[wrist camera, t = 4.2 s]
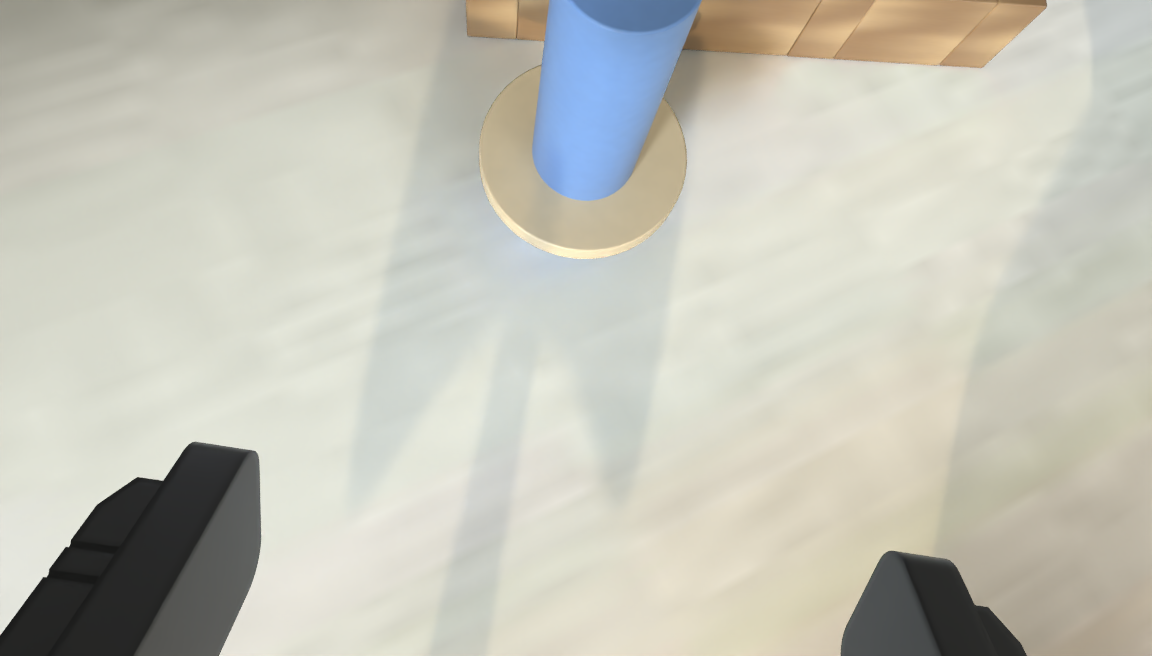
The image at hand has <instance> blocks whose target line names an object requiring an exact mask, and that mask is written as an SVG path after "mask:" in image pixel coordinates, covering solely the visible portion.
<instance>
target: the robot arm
mask: <svg viewBox="0 0 1152 656" xmlns="http://www.w3.org/2000/svg"><path fill="white" fill-rule="evenodd" d="M260 546H261V515H260V470H259V458H258V454H257V453H256V451H252V450H245V449H239V448H232V447H226V446H219V445H213V444H206V443H200V442H192V443H191V444H189V445H188V446H187V447H186V448H185V450H184V451H183V452H182V454H181V455H180V457H179V458H178V460H177V461H176V463H175V464H174V466H173V467H172V469H171V470H170V472H169V473H168V475H167V476H166V478H165V479H164V481H159V480H153V479H146V478H139V477H137V478H135V479H134V480H132V481H131V482H130V483H128V484H127V485H125V486H124V487H122V488H121V489H119V490H118V491H116V492H115V493H114V494H112V495H111V496H109V497H108V498H106V499H105V500H103V501H102V502H100V503H99V504H97V506H96V507H95V508H94V510H93V511H92V512H91V514H90V515H89V516H88V518H87V519H86V520H85V522H84V523H83V525H82V526H81V527H80V529H79V530H78V531H77V533H76V534H75V535H74V537H73V538H72V539H71V544H70V546H69V547H65V549H64V550H63V552H62V553H61V554H60V556H59V557H58V558H57V560H56V561H55V562H54V564H53V565H52V566H51V568H50V569H49V574H48V576H47V578H46V577H43V579H42V580H41V581H40V583H39V584H38V585H37V587H36V588H35V589H34V591H33V592H32V593H31V595H30V596H29V597H28V599H27V600H26V601H25V603H24V604H23V606H22V607H21V608H20V610H19V611H18V612H17V614H16V615H15V616H14V618H13V619H12V620H11V622H10V623H9V624H8V626H7V627H6V628H5V630H4V631H3V633H2V634H1V635H0V656H219V654H220V652H221V650H222V648H223V645H224V643H225V641H226V639H227V637H228V635H229V632H230V630H231V628H232V626H233V624H234V622H235V620H236V617H237V615H238V613H239V611H240V609H241V607H242V604H243V602H244V600H245V598H246V596H247V594H248V591H249V589H250V587H251V584H252V581H253V578H254V575H255V571H256V568H257V564H258V559H259V553H260ZM841 656H1027V655H1026V653H1025V651H1024V649H1023V647H1022V645H1021V643H1020V642H1019V641H1018V640H1017V639H1016V638H1015V637H1014V636H1013V634H1012V633H1011V632H1010V631H1009V630H1008V629H1007V628H1006V627H1005V626H1004V624H1003V623H1002V622H1001V621H1000V620H999V619H998V618H997V617H996V616H995V614H994V613H993V612H992V611H991V610H990V609H989V608H988V607H983V606H976V605H974V603H973V601H972V599H971V597H970V594H969V592H968V590H967V588H966V586H965V584H964V582H963V579H962V577H961V575H960V573H959V571H958V569H957V567H956V566H955V565H954V564H953V563H952V562H951V561H950V560H947V559H942V558H936V557H929V556H923V555H916V554H910V553H903V552H897V551H888V552H886V553H885V554H884V555H883V556H882V557H881V559H880V560H879V562H878V564H877V566H876V568H875V570H874V572H873V574H872V576H871V578H870V580H869V582H868V584H867V586H866V588H865V590H864V592H863V594H862V596H861V598H860V600H859V602H858V604H857V606H856V608H855V610H854V612H853V614H852V616H851V618H850V620H849V622H848V624H847V626H846V628H845V631H844V634H843V639H842V645H841Z"/></svg>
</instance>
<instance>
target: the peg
mask: <svg viewBox="0 0 1152 656" xmlns="http://www.w3.org/2000/svg"><path fill="white" fill-rule="evenodd" d="M701 1H702V0H549V7H548V15H547V24H546V32H545V41H544V50H543V58H542V65H539V66H537V67H535V68H533V69H531V70H528V71H527V72H525V73H523V74H522V75H520V76H519V77H517V78H516V79H515V80H513V81H512V82H511V83H510V84H509V85H508V86H506V87H505V89H504V90H503V91H502V92H501V93H500V94H499V95H498V96H497V98H496V99H495V101H494V102H493V104H492V105H491V107H490V109H489V111H488V113H487V115H486V117H485V120H484V124H483V127H482V130H481V136H480V142H479V165H480V173H481V179H482V183H483V187H484V190H485V192H486V195H487V197H488V199H489V202H490V203H491V205H492V207H493V208H494V210H495V212H496V213H497V215H498V216H499V217H500V218H501V220H502V221H503V222H504V223H505V224H506V225H507V226H508V227H509V228H510V229H511V230H512V231H513V232H514V233H515V234H517V235H518V236H519V237H520V238H522V239H523V240H524V241H526V242H528V243H530V244H531V245H533V246H535V247H537V248H539V249H541V250H544V251H546V252H548V253H552V254H555V255H559V256H562V257H569V258H575V259H594V258H603V257H608V256H612V255H616V254H619V253H621V252H624V251H627V250H629V249H631V248H633V247H635V246H637V245H638V244H640V243H642V242H643V241H644V240H646V239H647V238H648V237H650V236H651V235H652V234H653V233H654V232H655V231H656V230H657V229H658V228H659V227H660V226H661V225H662V223H663V222H664V221H665V220H666V218H667V217H668V215H669V214H670V212H671V210H672V208H673V207H674V205H675V203H676V201H677V200H678V197H679V195H680V192H681V190H682V188H683V184H684V180H685V175H686V166H687V154H686V145H685V140H684V136H683V133H682V130H681V126H680V124H679V122H678V120H677V118H676V116H675V114H674V112H673V110H672V109H671V107H670V106H669V104H668V103H667V102H666V100H665V99H664V98H663V96H664V93H665V91H666V88H667V86H668V83H669V81H670V78H671V76H672V73H673V71H674V68H675V66H676V63H677V61H678V58H679V56H680V53H681V51H682V48H683V46H684V44H685V41H686V39H687V36H688V34H689V31H690V29H691V26H692V24H693V21H694V19H695V16H696V14H697V11H698V9H699V6H700V4H701Z"/></svg>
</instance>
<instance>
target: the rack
mask: <svg viewBox="0 0 1152 656" xmlns="http://www.w3.org/2000/svg"><path fill="white" fill-rule="evenodd" d="M548 7H549V0H466V16H467V35H468V36H474V37H490V38H506V39H516V38H517V39H521V40H537V41H545V32H546V24H547V15H548ZM1046 7H1047V3H1046V0H702V1H701V4H700V6H699V9H698V11H697V14H696V16H695V19H694V21H693V24H692V26H691V29H690V31H689V34H688V36H687V39H686V41H685V44H684V46H683V48H682V49H688V50H704V51H720V52H736V53H752V54H768V55H787V56H794V57H810V58H826V59H833V58H834V59H843V60H859V61H875V62H891V63H907V64H924V65H943V66H959V67H975V68H982V67H984V66H985V65H986V64H987V63H988V62H989V61H990V60H991V59H992V58H993V57H994V56H996V55H997V54H998V53H999V52H1000V51H1001V50H1002V49H1003V48H1004V47H1005V46H1006V45H1007V44H1008V43H1009V42H1010V41H1012V40H1013V39H1014V38H1015V37H1016V36H1017V35H1018V34H1019V33H1020V32H1021V31H1022V30H1023V29H1024V28H1025V27H1026V26H1028V25H1029V24H1030V23H1031V22H1032V21H1033V20H1034V19H1035V18H1036V17H1037V16H1038V15H1039V14H1040V13H1041V12H1042V11H1044V10H1045V9H1046Z"/></svg>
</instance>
